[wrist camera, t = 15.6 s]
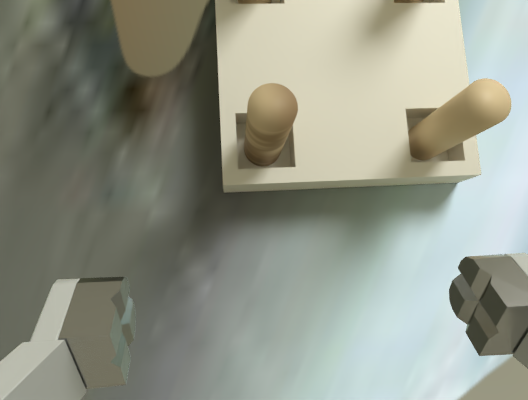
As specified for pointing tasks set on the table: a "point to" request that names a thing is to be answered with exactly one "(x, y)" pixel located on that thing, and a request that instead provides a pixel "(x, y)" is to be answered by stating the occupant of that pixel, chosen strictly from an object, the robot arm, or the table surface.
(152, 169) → the table surface
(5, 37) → the table surface
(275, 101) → the stool leg
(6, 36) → the table surface
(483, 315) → the robot arm
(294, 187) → the stool seat
